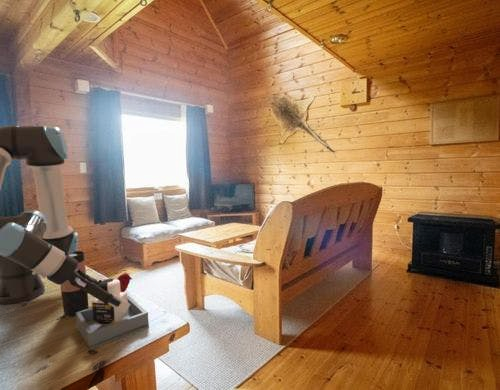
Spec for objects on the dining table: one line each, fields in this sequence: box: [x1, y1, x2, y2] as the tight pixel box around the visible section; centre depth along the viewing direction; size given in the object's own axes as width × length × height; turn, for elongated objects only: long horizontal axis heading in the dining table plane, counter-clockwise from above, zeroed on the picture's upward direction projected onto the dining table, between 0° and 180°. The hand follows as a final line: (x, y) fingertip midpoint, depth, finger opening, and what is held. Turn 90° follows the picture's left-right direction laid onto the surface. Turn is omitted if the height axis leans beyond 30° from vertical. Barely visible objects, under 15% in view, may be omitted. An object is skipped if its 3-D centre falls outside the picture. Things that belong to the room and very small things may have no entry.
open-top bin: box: [75, 295, 150, 350], centre depth 91 cm, size 16×16×4 cm
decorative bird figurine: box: [116, 272, 133, 292], centre depth 109 cm, size 3×18×10 cm, turn 89°
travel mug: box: [59, 250, 89, 318], centre depth 100 cm, size 8×8×20 cm
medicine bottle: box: [91, 278, 129, 325], centre depth 90 cm, size 7×7×12 cm
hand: (121, 302), depth 92 cm, fingers closed on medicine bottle, 10 cm apart
